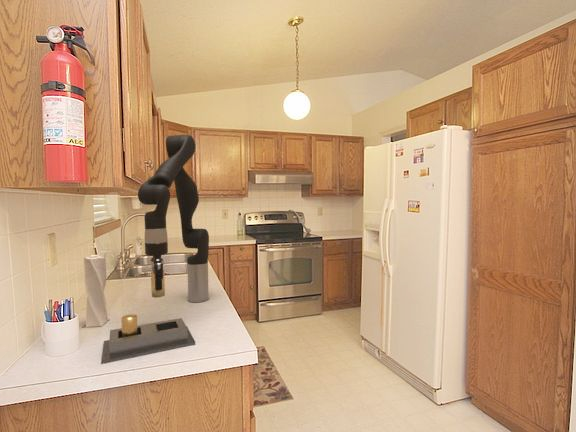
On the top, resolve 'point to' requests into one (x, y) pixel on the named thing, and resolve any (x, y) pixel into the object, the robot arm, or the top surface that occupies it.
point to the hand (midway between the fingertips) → (158, 288)
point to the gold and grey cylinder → (154, 293)
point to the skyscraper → (95, 290)
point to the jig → (145, 338)
